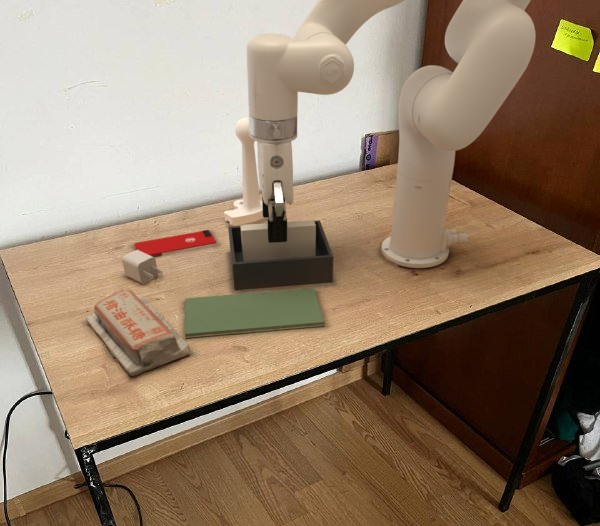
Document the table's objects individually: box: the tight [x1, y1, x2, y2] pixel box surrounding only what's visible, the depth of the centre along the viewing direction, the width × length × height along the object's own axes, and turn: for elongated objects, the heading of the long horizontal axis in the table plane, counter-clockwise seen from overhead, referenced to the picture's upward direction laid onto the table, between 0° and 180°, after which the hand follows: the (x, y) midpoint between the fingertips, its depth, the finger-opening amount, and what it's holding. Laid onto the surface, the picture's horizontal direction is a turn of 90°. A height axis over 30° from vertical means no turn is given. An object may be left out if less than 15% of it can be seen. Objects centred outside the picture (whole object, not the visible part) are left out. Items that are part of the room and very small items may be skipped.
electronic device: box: [134, 229, 217, 257], centre depth 119 cm, size 6×1×15 cm
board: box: [239, 219, 316, 262], centre depth 110 cm, size 13×2×8 cm, turn 98°
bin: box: [227, 219, 334, 291], centre depth 111 cm, size 17×14×6 cm
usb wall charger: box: [121, 249, 163, 285], centre depth 109 cm, size 4×7×4 cm, turn 50°
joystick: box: [223, 116, 269, 226], centre depth 123 cm, size 11×8×20 cm
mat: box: [184, 287, 325, 340], centre depth 101 cm, size 22×10×1 cm, turn 98°
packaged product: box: [85, 288, 191, 377], centre depth 95 cm, size 18×5×10 cm
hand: (274, 228), depth 107 cm, fingers open, 9 cm apart
